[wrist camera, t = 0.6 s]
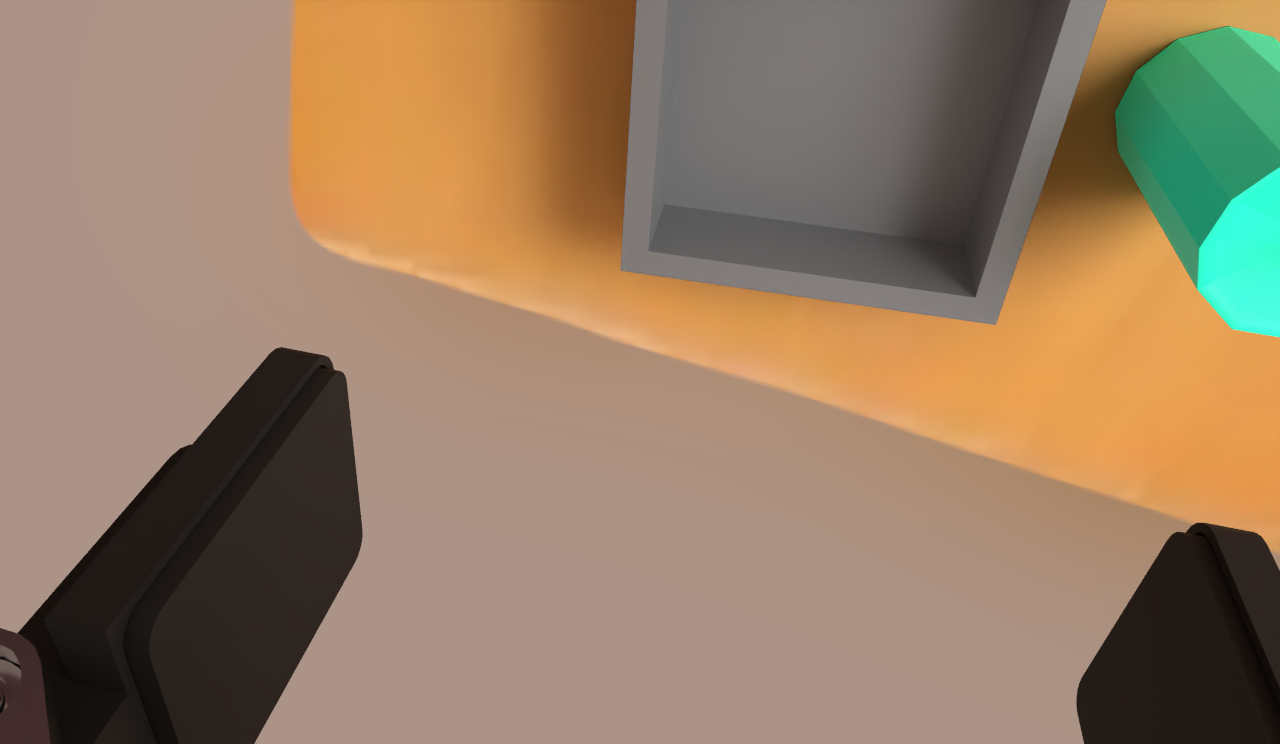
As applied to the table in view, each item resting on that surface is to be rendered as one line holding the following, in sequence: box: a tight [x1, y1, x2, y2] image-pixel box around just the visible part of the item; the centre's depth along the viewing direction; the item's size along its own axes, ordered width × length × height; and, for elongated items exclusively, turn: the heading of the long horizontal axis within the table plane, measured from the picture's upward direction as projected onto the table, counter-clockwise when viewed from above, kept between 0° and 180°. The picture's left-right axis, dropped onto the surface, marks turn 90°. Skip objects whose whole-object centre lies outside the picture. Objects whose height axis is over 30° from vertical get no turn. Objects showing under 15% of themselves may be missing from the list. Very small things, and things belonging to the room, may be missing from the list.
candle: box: [1115, 26, 1280, 337], centre depth 30 cm, size 6×6×12 cm
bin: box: [621, 0, 1107, 325], centre depth 34 cm, size 14×14×5 cm
